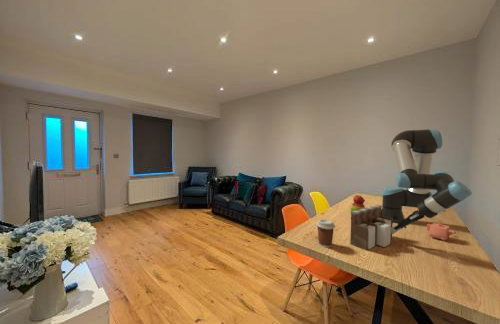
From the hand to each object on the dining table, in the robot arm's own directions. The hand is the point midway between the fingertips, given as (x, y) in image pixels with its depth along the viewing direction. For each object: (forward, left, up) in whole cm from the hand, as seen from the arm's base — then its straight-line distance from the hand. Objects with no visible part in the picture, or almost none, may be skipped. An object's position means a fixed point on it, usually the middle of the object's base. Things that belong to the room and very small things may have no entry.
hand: (391, 231), depth 110 cm
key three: (+18, -4, -5) cm, 19 cm away
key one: (0, -4, -5) cm, 7 cm away
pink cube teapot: (-27, +14, -5) cm, 31 cm away
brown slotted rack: (+9, -5, -5) cm, 12 cm away
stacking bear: (-19, -28, -5) cm, 35 cm away
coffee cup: (+34, -16, -5) cm, 38 cm away
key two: (+9, -1, -5) cm, 10 cm away
